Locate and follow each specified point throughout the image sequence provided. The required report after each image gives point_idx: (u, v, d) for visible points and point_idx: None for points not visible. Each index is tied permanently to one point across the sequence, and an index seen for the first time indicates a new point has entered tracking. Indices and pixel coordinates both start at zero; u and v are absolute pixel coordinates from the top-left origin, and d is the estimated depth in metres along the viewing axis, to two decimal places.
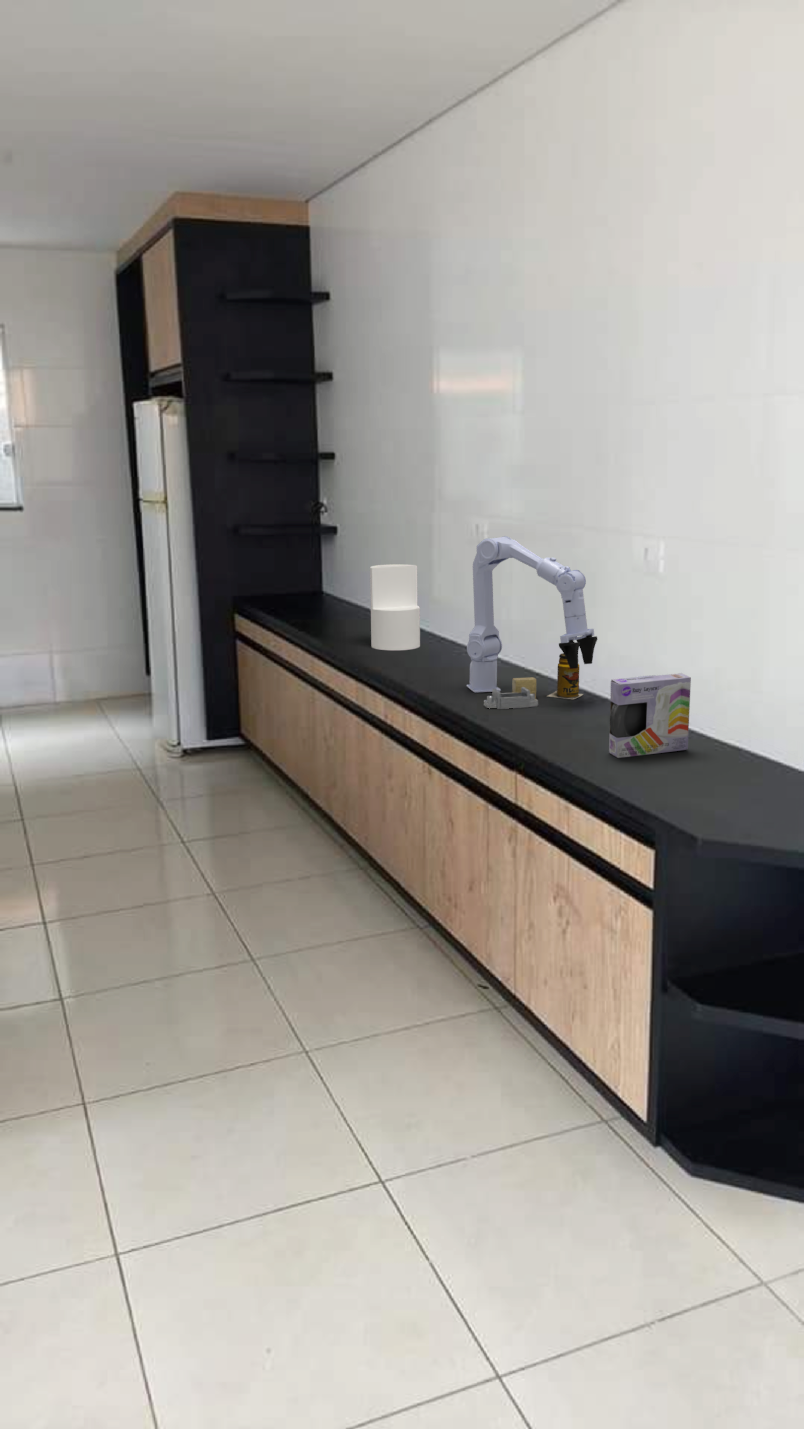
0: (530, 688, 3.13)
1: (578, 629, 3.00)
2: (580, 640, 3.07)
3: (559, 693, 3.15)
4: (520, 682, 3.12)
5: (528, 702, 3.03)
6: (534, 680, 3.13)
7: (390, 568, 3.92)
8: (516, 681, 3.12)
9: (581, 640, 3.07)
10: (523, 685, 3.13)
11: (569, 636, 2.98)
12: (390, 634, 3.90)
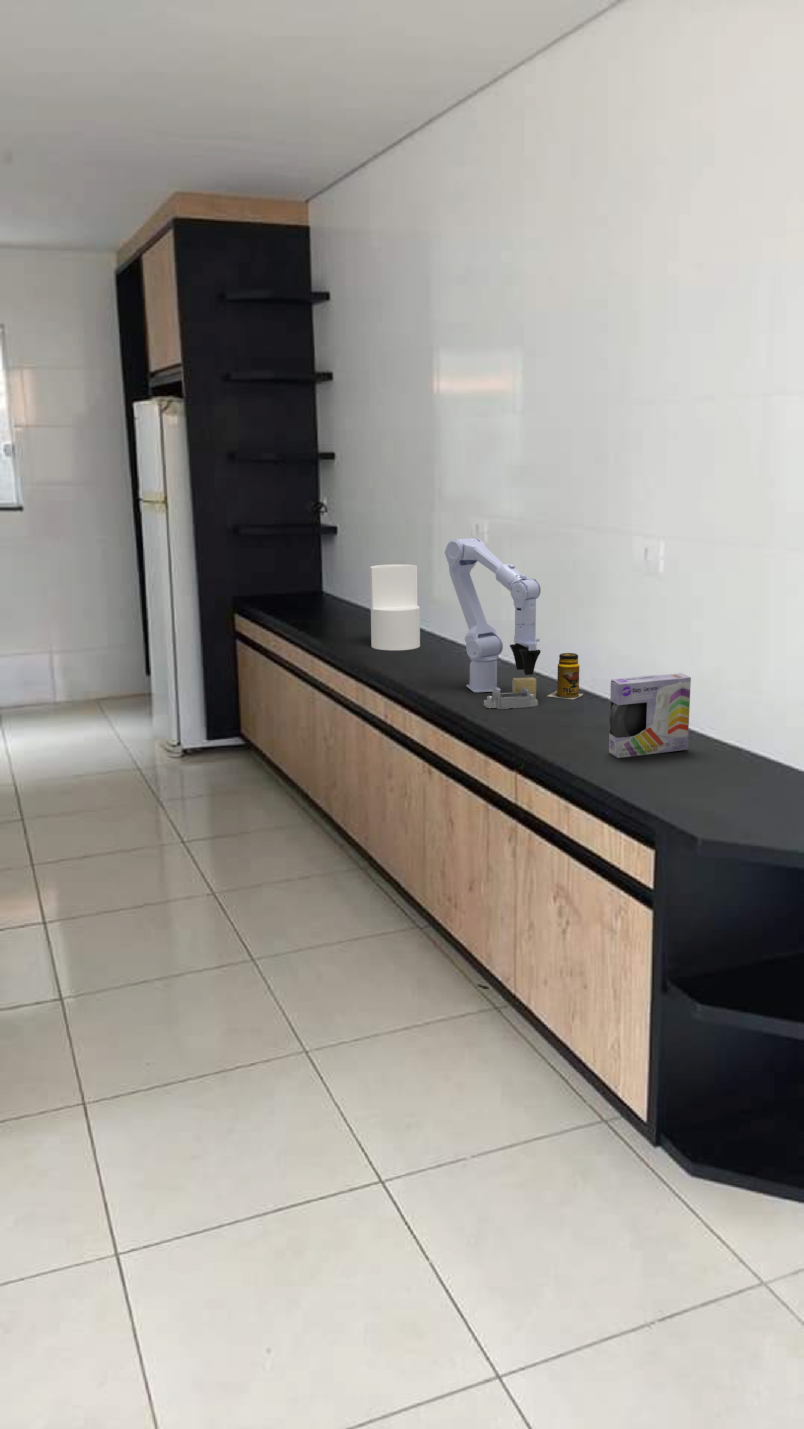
0: (530, 688, 3.13)
1: (533, 637, 3.09)
2: (515, 646, 3.15)
3: (559, 693, 3.15)
4: (520, 682, 3.12)
5: (528, 702, 3.03)
6: (534, 680, 3.13)
7: (390, 568, 3.92)
8: (516, 681, 3.12)
9: (517, 646, 3.15)
10: (523, 686, 3.13)
11: None
12: (390, 634, 3.90)
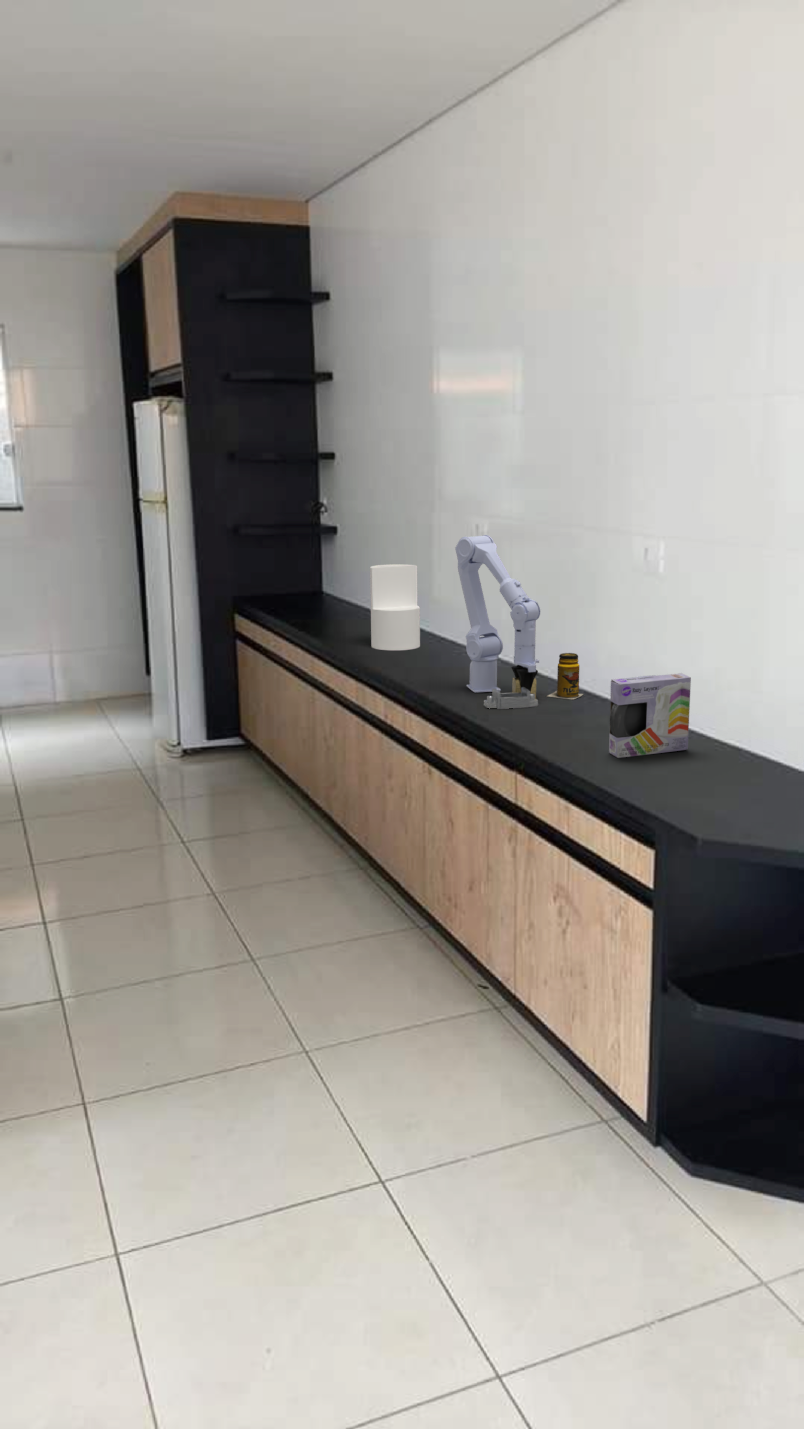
0: None
1: (533, 658, 3.11)
2: (517, 668, 3.15)
3: (559, 693, 3.15)
4: None
5: (528, 702, 3.03)
6: (534, 680, 3.13)
7: (390, 568, 3.92)
8: (516, 681, 3.12)
9: (518, 668, 3.15)
10: None
11: None
12: (390, 634, 3.90)
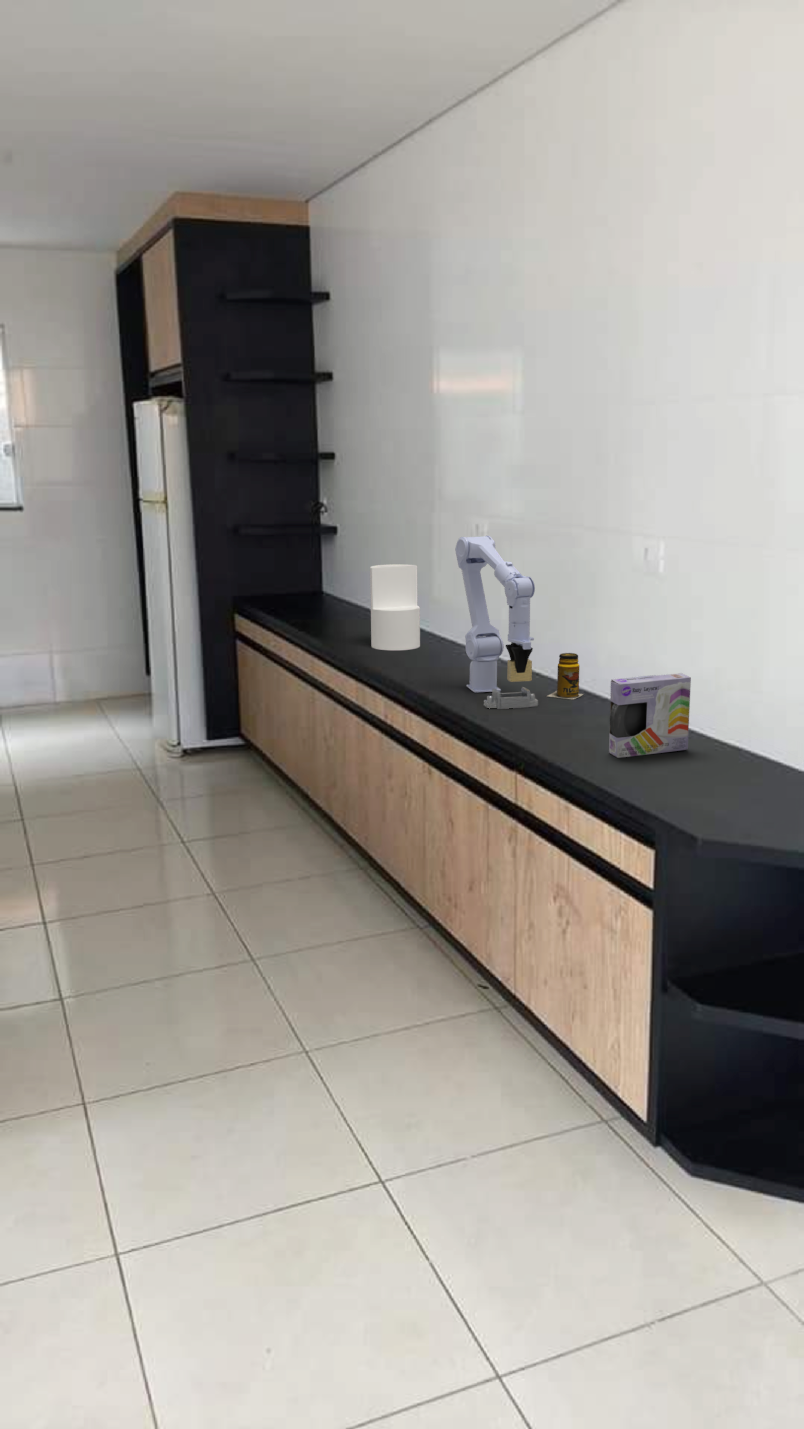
0: (525, 670, 3.07)
1: (528, 636, 3.04)
2: (511, 646, 3.08)
3: (559, 693, 3.15)
4: None
5: (528, 702, 3.03)
6: (530, 662, 3.07)
7: (390, 568, 3.92)
8: (511, 663, 3.06)
9: (513, 647, 3.08)
10: None
11: None
12: (390, 634, 3.90)
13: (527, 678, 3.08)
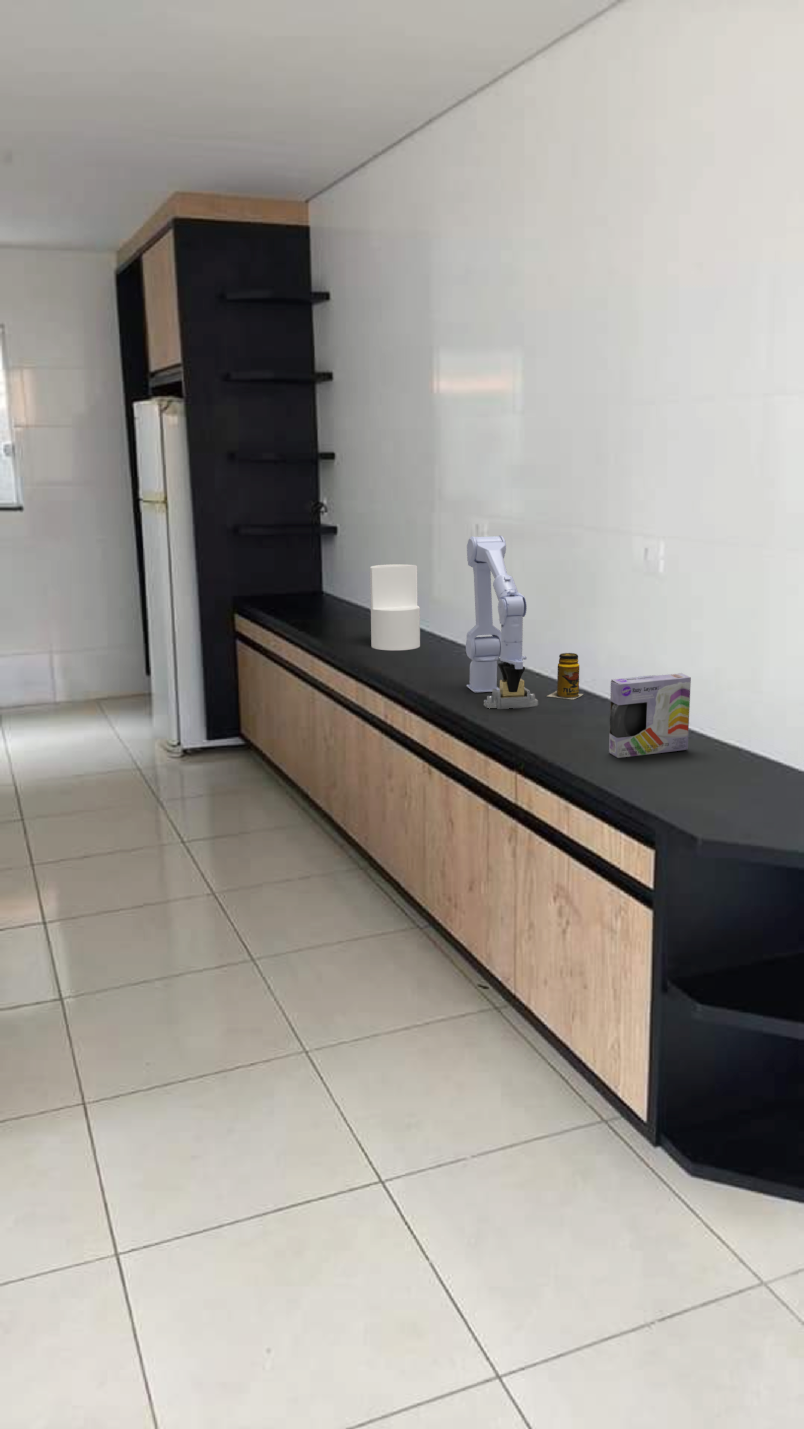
0: (517, 690, 3.03)
1: (520, 655, 3.00)
2: (504, 665, 3.04)
3: (559, 693, 3.15)
4: (507, 683, 3.02)
5: (528, 702, 3.03)
6: (522, 681, 3.03)
7: (390, 568, 3.92)
8: (503, 683, 3.02)
9: (505, 666, 3.04)
10: None
11: None
12: (390, 634, 3.90)
13: None
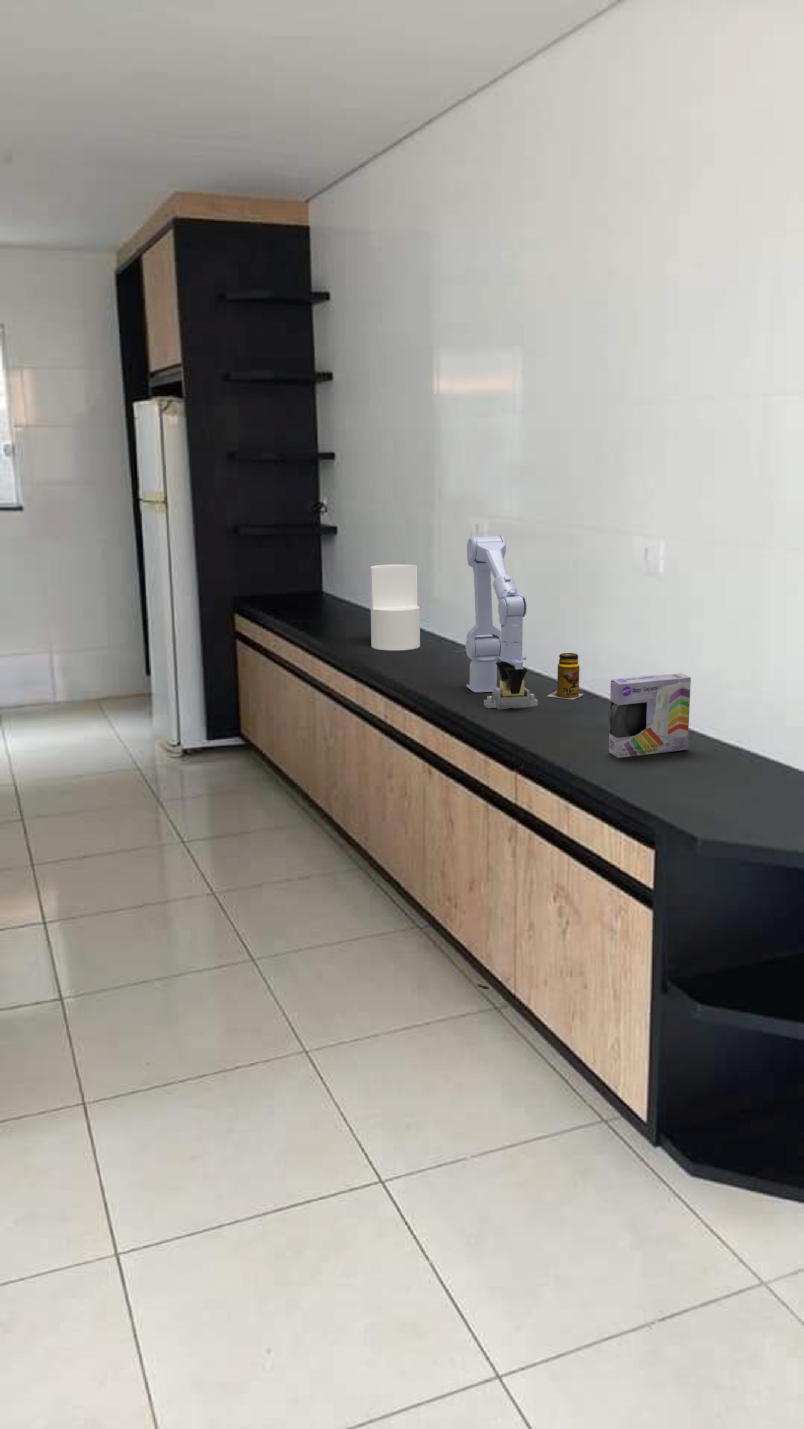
0: None
1: (520, 655, 3.00)
2: (502, 664, 3.06)
3: (559, 693, 3.15)
4: (507, 683, 3.02)
5: (528, 702, 3.03)
6: (522, 681, 3.03)
7: (390, 568, 3.92)
8: (503, 683, 3.02)
9: (503, 664, 3.06)
10: None
11: None
12: (390, 634, 3.90)
13: None
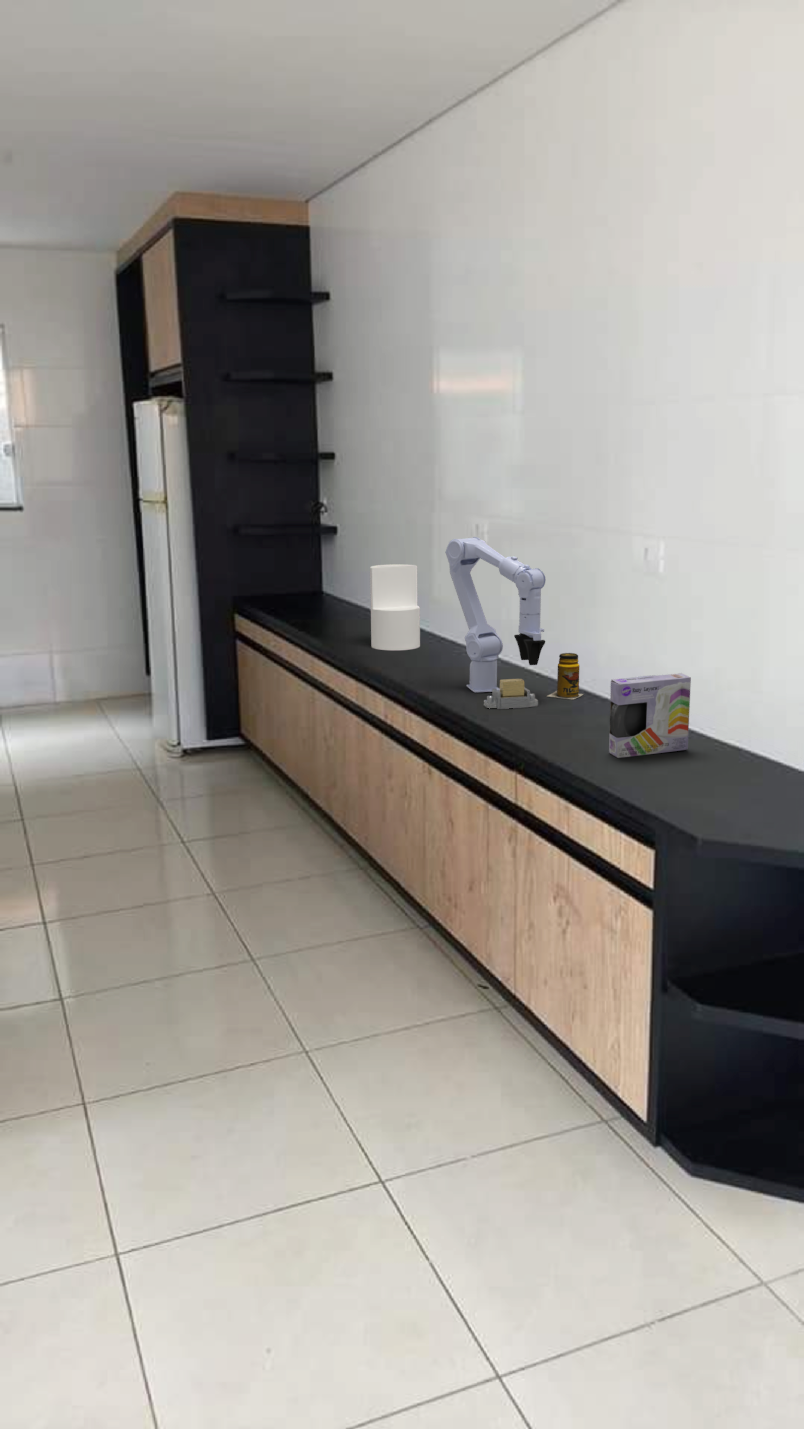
0: (517, 690, 3.03)
1: (538, 627, 3.08)
2: (520, 637, 3.14)
3: (559, 693, 3.15)
4: (507, 683, 3.02)
5: (528, 702, 3.03)
6: (522, 681, 3.03)
7: (390, 568, 3.92)
8: (503, 683, 3.02)
9: (521, 637, 3.14)
10: (511, 687, 3.02)
11: None
12: (390, 634, 3.90)
13: None
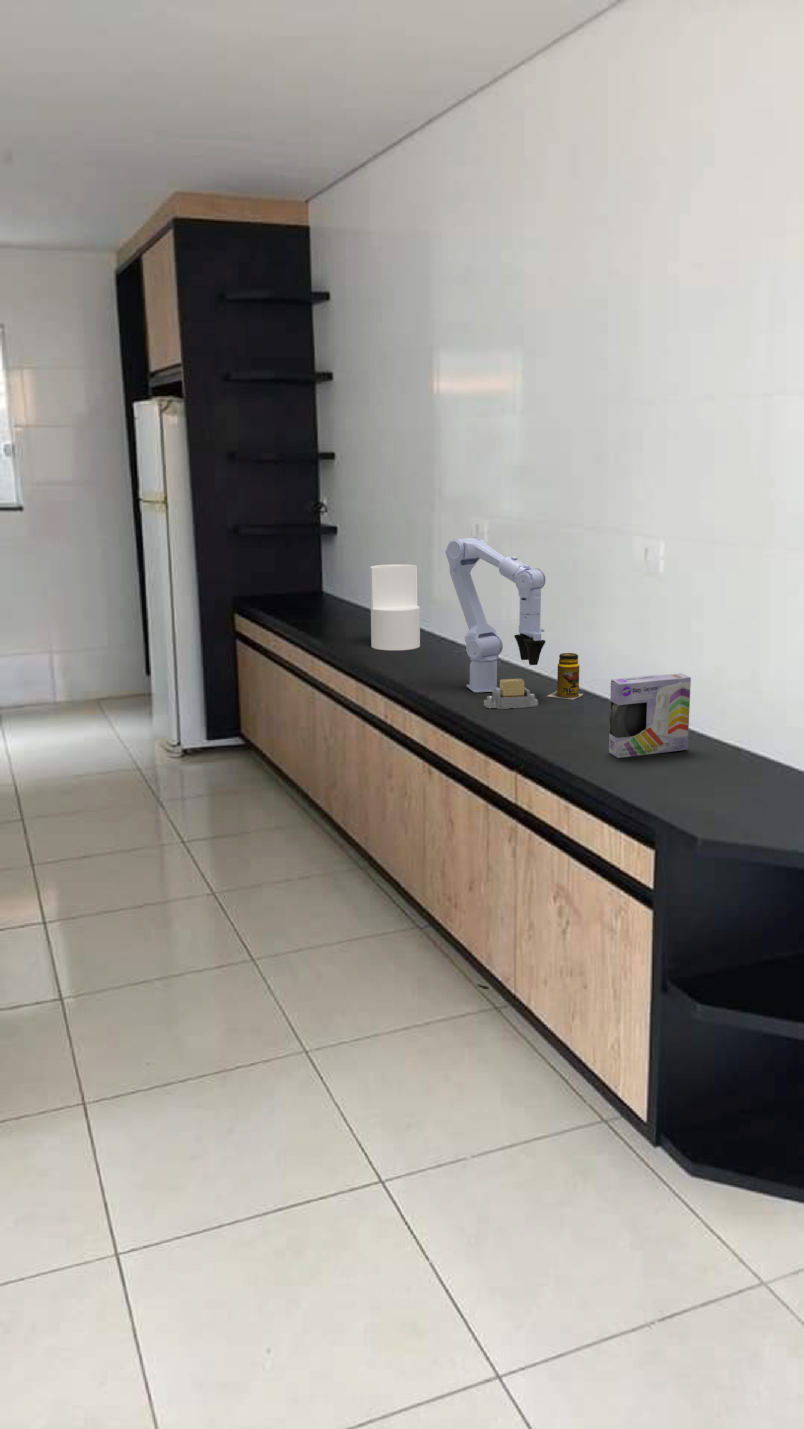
0: (517, 690, 3.03)
1: (538, 627, 3.08)
2: (520, 637, 3.14)
3: (559, 693, 3.15)
4: (507, 683, 3.02)
5: (528, 702, 3.03)
6: (522, 681, 3.03)
7: (390, 568, 3.92)
8: (503, 683, 3.02)
9: (521, 637, 3.14)
10: (511, 687, 3.02)
11: None
12: (390, 634, 3.90)
13: None
